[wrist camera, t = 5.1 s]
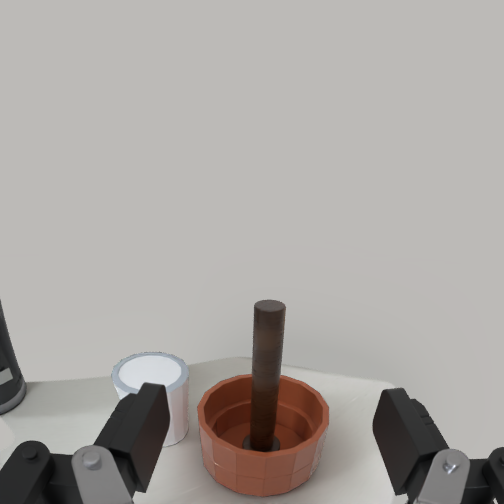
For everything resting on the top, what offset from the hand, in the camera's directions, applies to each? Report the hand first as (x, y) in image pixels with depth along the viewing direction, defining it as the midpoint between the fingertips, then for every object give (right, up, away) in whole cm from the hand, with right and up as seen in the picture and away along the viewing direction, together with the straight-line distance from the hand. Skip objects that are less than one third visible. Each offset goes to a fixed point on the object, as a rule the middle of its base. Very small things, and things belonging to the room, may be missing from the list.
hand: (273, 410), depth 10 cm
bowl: (0, -12, +13) cm, 18 cm away
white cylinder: (-10, -11, +16) cm, 22 cm away
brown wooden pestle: (0, -12, +13) cm, 17 cm away
